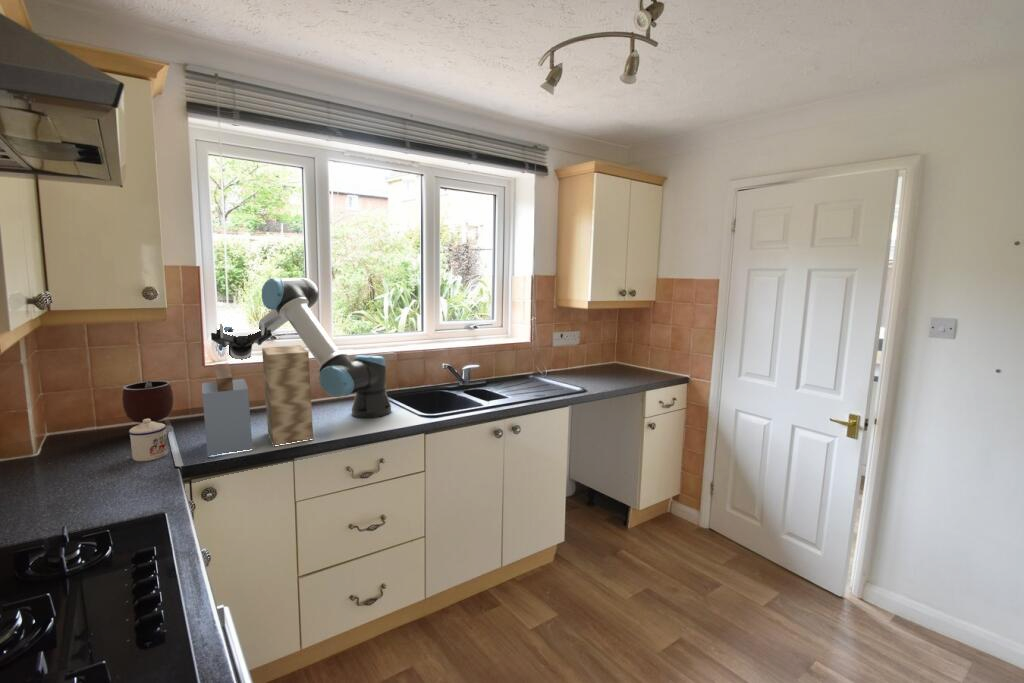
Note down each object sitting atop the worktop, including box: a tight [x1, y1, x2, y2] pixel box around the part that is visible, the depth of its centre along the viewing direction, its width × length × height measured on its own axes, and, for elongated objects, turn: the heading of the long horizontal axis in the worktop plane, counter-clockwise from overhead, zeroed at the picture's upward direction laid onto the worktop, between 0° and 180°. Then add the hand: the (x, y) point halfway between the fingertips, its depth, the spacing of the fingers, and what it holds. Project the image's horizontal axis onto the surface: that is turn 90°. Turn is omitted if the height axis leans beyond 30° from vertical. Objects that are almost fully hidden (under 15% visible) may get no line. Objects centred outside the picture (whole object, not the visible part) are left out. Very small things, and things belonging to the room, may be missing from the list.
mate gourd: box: [122, 380, 174, 434], centre depth 169 cm, size 16×14×20 cm
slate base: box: [201, 378, 254, 457], centre depth 157 cm, size 12×16×20 cm
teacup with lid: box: [128, 419, 169, 462], centre depth 150 cm, size 12×9×12 cm
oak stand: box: [261, 345, 314, 446], centre depth 165 cm, size 12×16×30 cm
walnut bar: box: [214, 362, 233, 392], centre depth 159 cm, size 4×26×4 cm, turn 32°
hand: (242, 326), depth 181 cm, fingers open, 13 cm apart
